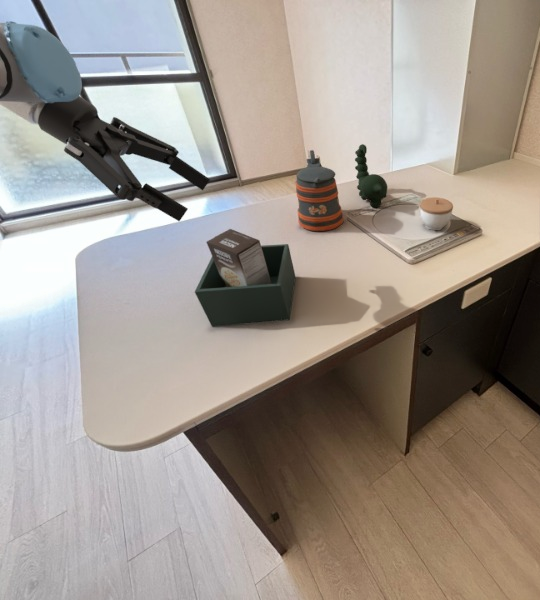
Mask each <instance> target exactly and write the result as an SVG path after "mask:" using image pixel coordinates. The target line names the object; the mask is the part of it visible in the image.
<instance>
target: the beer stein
mask: <svg viewBox="0 0 540 600" xmlns="http://www.w3.org/2000/svg"><path fill="white" fill-rule="evenodd" d="M315 155H316V154H315V151H314V149H311V150H309V157H310V158H306V164H307V165H306V167H304V168H302V169H300V170H298V172H297V173H296V180H295V189H296V190H295V193H296V197H297V202H298V203H297V204H298V208H297V216H298V224H299V226H300V227H301V228H303V229H304V230H307V231H309V232H310V231H311V232H328V231H331V230H335V229H337V228H338V227H340V226H341V225H342V224H343V223H344V217H343V209H342V206H341V204H340V199H339V190H338V186H337V180H336V178H335V177H336V172H335V171H334V170H333V169H331V168H329V167H325V166H322V163H321V162H320V157H316V156H315Z"/></svg>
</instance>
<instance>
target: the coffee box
mask: <svg viewBox="0 0 540 600" xmlns="http://www.w3.org/2000/svg"><path fill="white" fill-rule="evenodd" d="M206 245H207V248H208V249H209V252H210V255H211V258H212V257H213V259H214V262H215V264H216V267H217V269H218V272H219V274H220V277H221V279H222V281H223V284H224V286H225V287H238V286H252V285H266V284H272V283H271V280H270V276H269V273H268V269H267V266H266V262H265V258H264V255H263V251H262V248H261V246H262V245H261V241H260V239H257V238H255V237H252V236H249V235H247V234H245V233H243V232H240V231H237V230H235V229H232V228H229V229H227V230H226V231H223V232H222V233H220V234H218V235H216V236H214V237H213V238H211V239H209V240H207V241H206Z"/></svg>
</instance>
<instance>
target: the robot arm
mask: <svg viewBox="0 0 540 600" xmlns="http://www.w3.org/2000/svg"><path fill="white" fill-rule="evenodd" d="M82 89H83V81H82V76H81V73H80V71H79V69H78V66H77V64H76V61H75V59H74V57H73V56H72V54H71V53H70V51H69V49H67V47H66V46H65V45H64V43H63V42H61V40H59V38H57V37H56V36H55V35H54V34H53V33H51V32H50V31H48V30H47V29H45V28H43V27H41V26H38V25H35V24H24V23H17V22H15V21H9V20H7V21H6V22H0V105H1V106H2V107H3V108H5V109H7V110H9V111H10V112H12V113H13V114H15V115H16V116H18V117H20V118H22V119H23V120H25V121H27V122H28V123H30V124H32V125H38V127H39V128H40V130H41V131H43V132H44V133H46V134H47V135H49V136H51V137H53V138H54V139H56V140H58V141H59V142H61V143H63V144H64V145H65V146H64V148H63V151H64V152H65V154H67V155H69V156H70V157H72V158H73V159H74V160H76V161H78V162H79V163H80V164H81V165H82V166H83V167H85V168H86V169H87V170H88V171H89V172H90V173H91V174H92V175H93V176H94V177H95V178H96V179H97V180H98V181H99V182H100V183H101V184H103V185H104V186H105V187H106V188H107V189H108V190H109V191H110V192H111V193H112V194H113V195H114V196H115V197H116V198H118V199H120V200H124V201H125V200H127V201H129V202H134V201H135V199H138V200H140V201H142V202H143V203H145V204H147V205H148V206H150V207H152V208H154V209H157V210H159V211H160V212H162V213H164V214H165V215H167V216H169V217H171V218H173V219H174V220H176V221H178V222H180V221H181V220H182V219H183V217H184V216H185V214H186V213H187V211H188V209H189V208H188V207H186V206H185V205H183V204H181V203H180V202H178V201H176V200H175V199H173V198H172V197H170V196H168V195H166V194H165V193H163V192H162V191H160V190H158V189H157V188H155V187H153V186H151V184H148V183H147V182H146V183H144V184H143V185H142V183H141V182H140V180H139V179H138V178H137V176H136V175H135V174H134V172H133V171H132V170H131V169H130V167H129V165H128V164H127V163H126V162H125V161H124V158H122V156H124V155H126V156H131V155H135V156H138V157H141V158H145V159H147V160H151V161H155V162H158V163H162V164H164V165H167V166H169V167H168V169H169V170H171V171H172V172H173V173H175V174H177V175H178V176H180V177H181V178H182V179H184V180H186V181H187V182H189V183H190V184H192V185H193V186H194V187H197V188H198V189H200V190H201V191H204V190H205V188H206V187H207V185H208V184H209V182H210V181H211V179H210V178H209V177H208V176H206V175H205V174H203V173H202V172H201V171H198V170H197V169H196V168H194V167H193V166H191V165H190V164H189V163H187V162H185V160H183V159H181V158H180V157H179V156H178V155H179V153H180V152H179V150H178V149H177V148H176V147H175V146H172V145H171V144H169V143H167V142H164V141H162V140H161V139H158V138H156V137H154V136H152V135H150V134H148V133H146V132H143V131H142V130H139V129H137V128H135V127H133V126H132V125H129V124H128V123H126V122H125V121H123V120H122V119H120V118H118V117H116V116H115V117H114V116H113V117H112V119H111V121H110V123H109V122H107V121H104V120H103V119H101V118H100V117H99V112H98V109H97V107H96V106H94V105H93V104H92V103H91V102H89V101H88V100H87V99H85V98H83V97H82V96H81V93H82ZM119 186H120V187H119Z"/></svg>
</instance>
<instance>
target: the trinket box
mask: <svg viewBox="0 0 540 600" xmlns="http://www.w3.org/2000/svg"><path fill="white" fill-rule="evenodd" d="M453 210H454V204H453V202H451V201H450V200H449V199H447V198H443V197H434V196H433V197H426V198H423V199H422V200H421V201H420V202H419V216H420V220H421V222H422V224H423V225H424V227H426V229H428V230H432V231H441V230H442V229H443V228H444V227H446V226H447V225H448V224H449V222H450V220H451V217H452V214H453Z"/></svg>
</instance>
